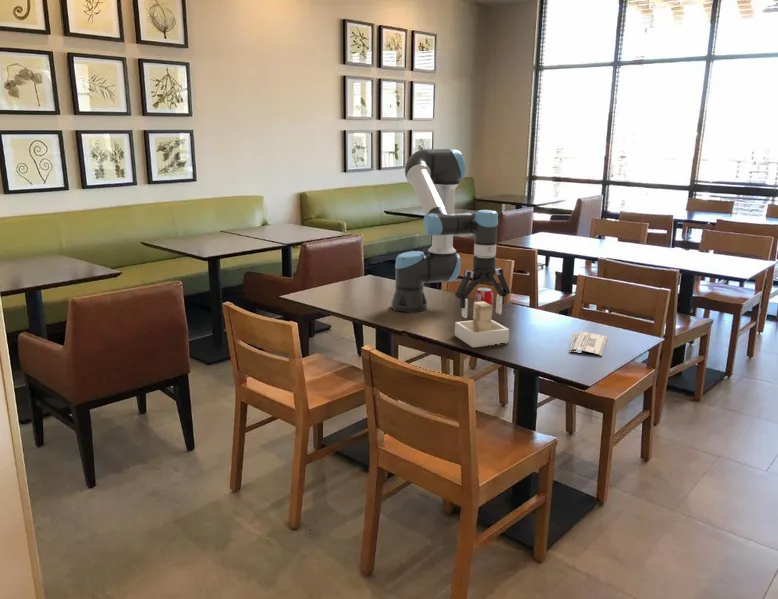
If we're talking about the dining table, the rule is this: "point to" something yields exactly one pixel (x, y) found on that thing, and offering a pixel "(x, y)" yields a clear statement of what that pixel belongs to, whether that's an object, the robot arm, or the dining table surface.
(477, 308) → the light wood block
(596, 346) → the newspaper
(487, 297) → the soda can
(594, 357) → the dining table surface
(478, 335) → the white slotted box
